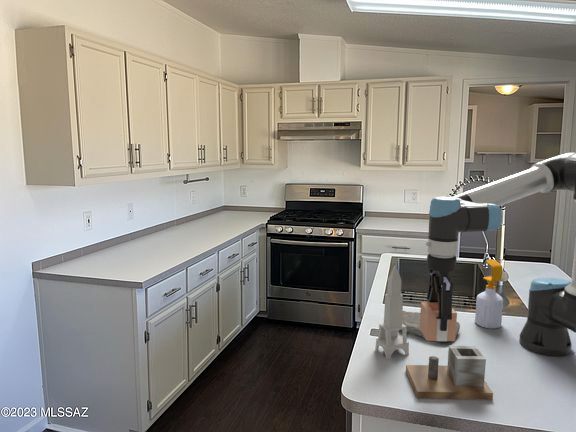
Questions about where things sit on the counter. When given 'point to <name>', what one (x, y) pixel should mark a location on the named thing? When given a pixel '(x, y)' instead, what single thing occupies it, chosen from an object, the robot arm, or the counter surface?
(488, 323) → the spray bottle
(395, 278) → the sculpture
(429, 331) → the orange hollow cube
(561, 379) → the counter surface
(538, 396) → the counter surface
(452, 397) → the pin board
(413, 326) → the stone
